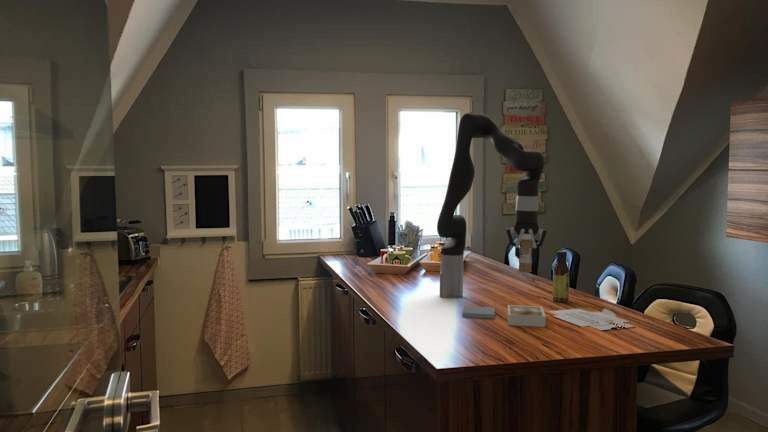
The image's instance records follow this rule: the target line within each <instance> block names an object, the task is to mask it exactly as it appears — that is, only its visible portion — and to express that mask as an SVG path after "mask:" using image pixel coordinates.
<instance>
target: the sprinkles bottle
mask: <svg viewBox="0 0 768 432" xmlns="http://www.w3.org/2000/svg"><path fill="white" fill-rule="evenodd" d="M532 239H533V238H532ZM532 248H533V245H532V241H531V235H530V234H522V240H521V242H520V245H519V258H518V272H519V273H523V274H528V273H531V272H532V263H533V259H532Z"/></svg>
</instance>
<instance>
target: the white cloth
mask: <svg viewBox="0 0 768 432" xmlns="http://www.w3.org/2000/svg"><path fill="white" fill-rule="evenodd" d="M548 313H551V314H552V315H551V318H552V317H555V318H557V319H560V320H562V321H565V322H568V323H570V324H573V325H576V326H579V327H580V328H586V327H585V326H590V327H589V328H592V327H593V329H594V328H596V329H595V330H597V329H599V330H598V331H600V330H602V331H605V330H607V331H608V330H612V329H611V328H612V327H615V326H616V324H618V325H617V326H619V327H621V325H622V326H623V327H625V328H623V327H622V328H621V329H627V328H635V326H633V325H631V324H629V323H623V322H630V321H629V320H626V319H623V318H619V317H617V314H615V313H614V312H613V311H612V310H610V309H608V308H603V309H602V310H601V311H588V310H585V309H582V308H570V309H560V310H559V309H558V310H549V311H548ZM609 323H615V325H613V324H609ZM624 324H625V326H624ZM617 329H619V328H617ZM617 329H616V330H617Z"/></svg>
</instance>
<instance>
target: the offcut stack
mask: <svg viewBox="0 0 768 432" xmlns="http://www.w3.org/2000/svg"><path fill="white" fill-rule="evenodd" d="M513 314H517V315H536V316H538V311H537V309H530V308H513Z"/></svg>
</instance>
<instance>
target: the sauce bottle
mask: <svg viewBox="0 0 768 432" xmlns="http://www.w3.org/2000/svg"><path fill="white" fill-rule="evenodd" d="M555 254H556V255H555V256H556V263H555V264H554V266H553V272H552V300H553V301H554V302H558V303H565V302H566V303H567V302H569V297H570V269H569V266H568V262H567V258H568V257H567V256H568V251H567V250H557V251H556V252H555Z"/></svg>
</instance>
